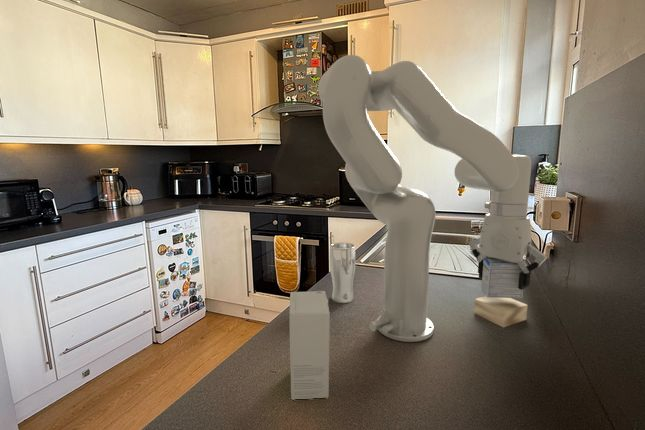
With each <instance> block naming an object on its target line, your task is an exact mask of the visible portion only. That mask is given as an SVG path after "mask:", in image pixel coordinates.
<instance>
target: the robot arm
mask: <svg viewBox="0 0 645 430" xmlns="http://www.w3.org/2000/svg"><path fill="white" fill-rule="evenodd" d="M317 86H318V88H317V91H318V96H319V98H320V100H321V102H322V120H323V124H324V128H325V132H326V134H327V136H328V138H329V140H330V142H331V143H332V145H333V146H334V148H335V149H336V151H337V152H338V153H339V155H340V156H341V158H342V160H343V161H344V162H345V165H344V166H345V167H344V174H345V178H346V180H347V182H348V183H349V185H350V187H351V188H352V189H353V191H354V192H355V193H356V195H357V197H359V198H360V200H361V201H362V203H363V204H364V205H365V206H366V208H367V209H368V210H369V211H370V212H371V214H372V215H373V216H374V217H375V218H376V219H377V221H379V222H381V223H382V224H384V225H385V226H387V227H388V231H387V236H386V238H385V243H384V245H385V246H384V251H383V254H384V257H383V261H384V262H383V264H384V265H383V269H384V270H383V272H384V273H383V310H381V311H380V315H379V316H378V317H377V318H376V320H372V321H371V322H369V324H368V326H369V329H370V331H372V332H376V331H378V332H380V334H382V336H384V337H387V338H388V339H392V340H394V341H399V342H406V343H414V342H417V343H418V342H421V341H424V340H425V341H426V340H427V339H429V338H431V337H432V335H433V334H434V330H435V329H434V328H435V326H434V323H433V322H432V321H431V320H430V319H429V318H428V303H429V302H428V300H429V299H428V298H429V297H428V295H429V278H430V277H429V276H430V275H429V273H430V251H431V240H432V235H433V230H434V226H435V222H436V216H437V215H436V209H435V205H434V202H433V200H432V199H431V198H430V196H428V195H427V194H426V193H424V192H423V191H420V190H419V189H415V188H412V187H411V188H410V187H406V186H402V185H401V181H402V178H403V170H402V166H401V163H400V162H399V159H398V158H397V157H396V155H394V153H393V152H392V150H391V148H390V147H389V146H388V145H387V143H386V142H385V141H384V139H383V138H382V137H381V135H380V133H378V130H377V129H376V128H375V126H374V124H373V123H372V121H371V119H370V117H369V114H368V113H369V112H387V111H391V110H395V111H396V112H397V113H398V115H400V116H401V117H402V118H403V119H404V121H406V123H407V124H408V125H409V126H410V127H411V128H412V129H413V130H414V132H416V133H417V135H418V136H419V137H420V138H421V139H422V140H423V141H425V142H427V143H428V144H430V145H433V146H434V147H436V148H439V149H441V150H445V151H447V152H450V153H452V154H454V155H456V156H457V157H459V158H461V159H459V160H458V162H457V163H456V165H455V167H454V172H453V173H454V177H455V179H456V181H457V182H458V183H459V184H460V185H462V186H463V187H466V188H470V189H474V190H484V191H487V192H489V191H490V201H489V202H484V208H485V209H487V210H488V212H489V213H486V214H485V216H484V219H483V222H482V226H481V229H480V230H481V231H480V236H479V237H478V238H476V239H474V240H470V241H469V242H468V245H469V247H470V250H471V252H472V254H473V256H474V257H475V258H476V261H477V262H478V265H477V273H478V278H479V279H482V273H483V259H484V258H485V257H490V258H494V259H499V260H503V261H508V262H512V263H518V265H519V266H520V268H521V269H522V272H520V274H519V284H518V288H519V289H520V290H522V289H523V290H524V289H526V288H527V287H528V286H530V283H531V281H530V280H531V272H532V271H534V270H535V269H537V268H539V267H540V266H541V265H542V264H543V263H544V262H545V261H546V260H547V258H548V257H547V256H546V254H544V253H543V252H541V250H539V249H537V247H535V246H533V245H532V240H533V239H532V237H533V236H532V225H531V219H530V217H529V216H528V207H529V206H528V205H529V193H530V185H531V173H532V160H531V159H532V158H531V157H530V156H528V155H525V154H524V155H523V154H513V153H512V152H511V151H510V150H509V148H508V147H507V146H506V145H505V144H504V143H503V141H502V140H501V139H500V138H499V137H497V135H495V134H494V133H493V132H491V130H489V129H487V128H486V127H484V125H481V124H479V123H477V122H476V121H475V120H473V119H471V118H470V117H468V116H467V115H465V114H463V113H461V112H459V110H457V109H456V108H455V106H454V105H453V104H452V103H451V102H450V101H449V100H448V99H447V98H446V96H445V95H444V94H443V93H442V92H441V90H440V89H439V88H438V87H437V86H436V85H435V83H434V82H433V81H432V80H431V79H430V78H429V77H428V75H427V74H426V73H425V72H424V71H423V70H422V68H421V67H419V66H418V65H417V64H416V63H414V62H413V61H409V60H402V61H398V62H396V63H393V64H392V65H390V66H388V67H386V68H385V69H383V70H373V71H371V69H370V66H369V64H368V63H367V62H366V60H364V59H363V58H362V57H360V56H358V55H356V54H347V55H344V56H342V57H339V58H338V59H337V60H336V61H335V62H333V63H332V64H331V65H330V66H329V68H328V69H327V70H326V71H325V72H324V73H323V75H322V76H321V77H320V80H319V81H318V85H317ZM531 255H532V256H533V257H534V258H535V260H534V261H533V262H532V263H531V262H530V260H529V259H530V257H531Z"/></svg>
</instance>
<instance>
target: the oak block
mask: <svg viewBox="0 0 645 430" xmlns="http://www.w3.org/2000/svg"><path fill="white" fill-rule="evenodd" d="M528 306H529V305H528V304H527V303H524V302H522V301H519V300H517V299H515V298H491V297H487V296H486V295H484V296H480V297H477V298H474V307H473V308H474V309H473V311H474V312H473V313H474V314H475V315H478V316H479V317H481V318H483V319H485V320H487V321H490V322H491V323H493V324H495V325H498V326H499V327H502V328H506V327H508V326H512V325H515V324H517V323H520V322H524V321H526V320H527V317H528Z"/></svg>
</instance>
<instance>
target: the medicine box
mask: <svg viewBox="0 0 645 430" xmlns="http://www.w3.org/2000/svg"><path fill="white" fill-rule="evenodd" d="M520 272H522V269H521V268H520V266H519V265H518V263H512V262H508V261H503V260H499V259H494V258H490V257H485V258H484V259H483V273H482V278H481V292H482V293H483V294H484V296H487V297H491V298H512V299H522V298H523V297H524V296H523V294H524V289H522V290H520V289H519V288H518V284H519V274H520Z"/></svg>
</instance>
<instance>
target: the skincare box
mask: <svg viewBox="0 0 645 430" xmlns="http://www.w3.org/2000/svg"><path fill="white" fill-rule="evenodd" d="M289 294H290V296H289V360H290V361H289V364H290V367H289V368H290V400H291V399H309V398H323V397H327V398H326V399H329V398H330V397H329V396H330V392H329V389H330V380H329V379H330V378H329V377H330V375H329V374H330V329H331V328H330V326H331V325H330V321H331V318H330V317H331V316H330V315H331V313H330V308H329V299H328V298H327V293H326V291H325V290H315V291H314V290H313V291H311V290H310V291H291V292H290V293H289ZM328 397H329V398H328ZM309 400H310V399H309Z"/></svg>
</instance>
